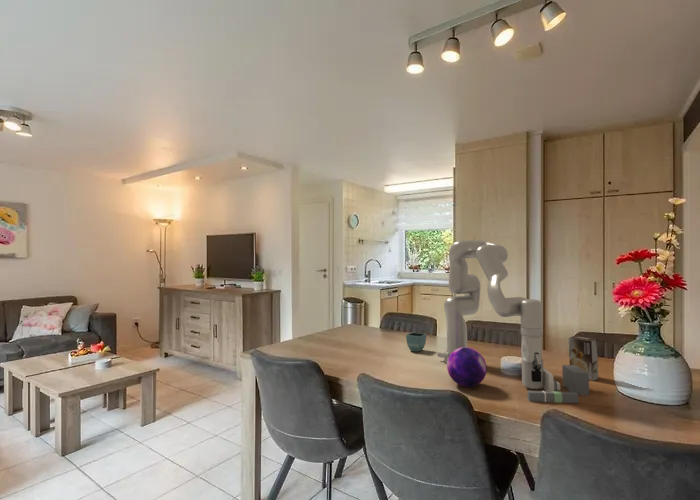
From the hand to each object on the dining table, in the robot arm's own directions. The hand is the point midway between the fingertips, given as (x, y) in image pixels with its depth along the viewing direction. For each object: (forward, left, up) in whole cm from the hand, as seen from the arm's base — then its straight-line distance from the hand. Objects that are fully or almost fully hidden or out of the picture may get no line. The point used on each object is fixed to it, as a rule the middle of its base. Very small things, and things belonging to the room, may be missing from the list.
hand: (532, 377), depth 142 cm
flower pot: (-42, +55, -4) cm, 69 cm away
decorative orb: (-24, +1, -4) cm, 25 cm away
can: (0, 0, -4) cm, 4 cm away
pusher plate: (+6, -2, -4) cm, 8 cm away
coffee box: (+26, +17, -4) cm, 31 cm away
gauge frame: (+6, -4, -4) cm, 9 cm away
